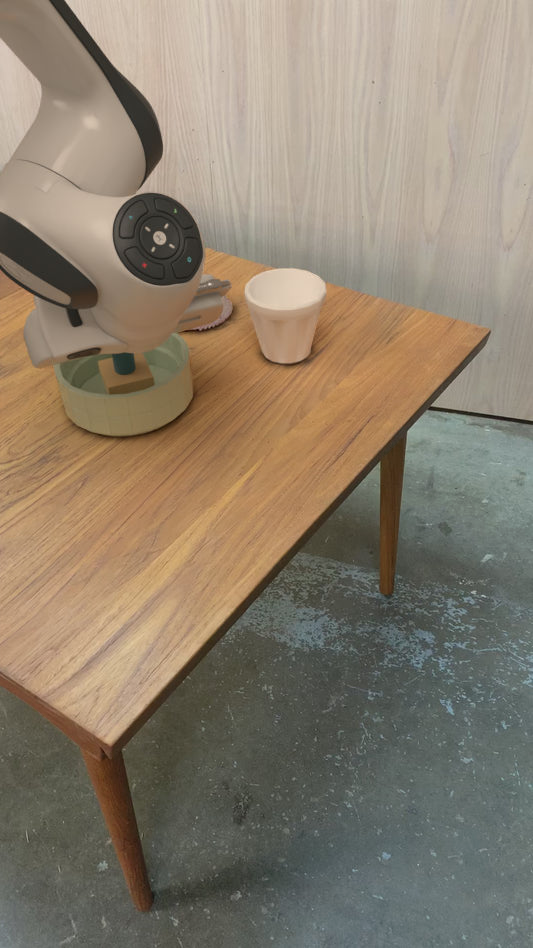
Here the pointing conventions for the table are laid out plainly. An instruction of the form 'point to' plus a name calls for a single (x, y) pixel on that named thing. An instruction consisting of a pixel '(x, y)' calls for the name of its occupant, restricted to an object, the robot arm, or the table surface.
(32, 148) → the robot arm
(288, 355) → the cup
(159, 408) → the bowl
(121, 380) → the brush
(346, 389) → the table surface
